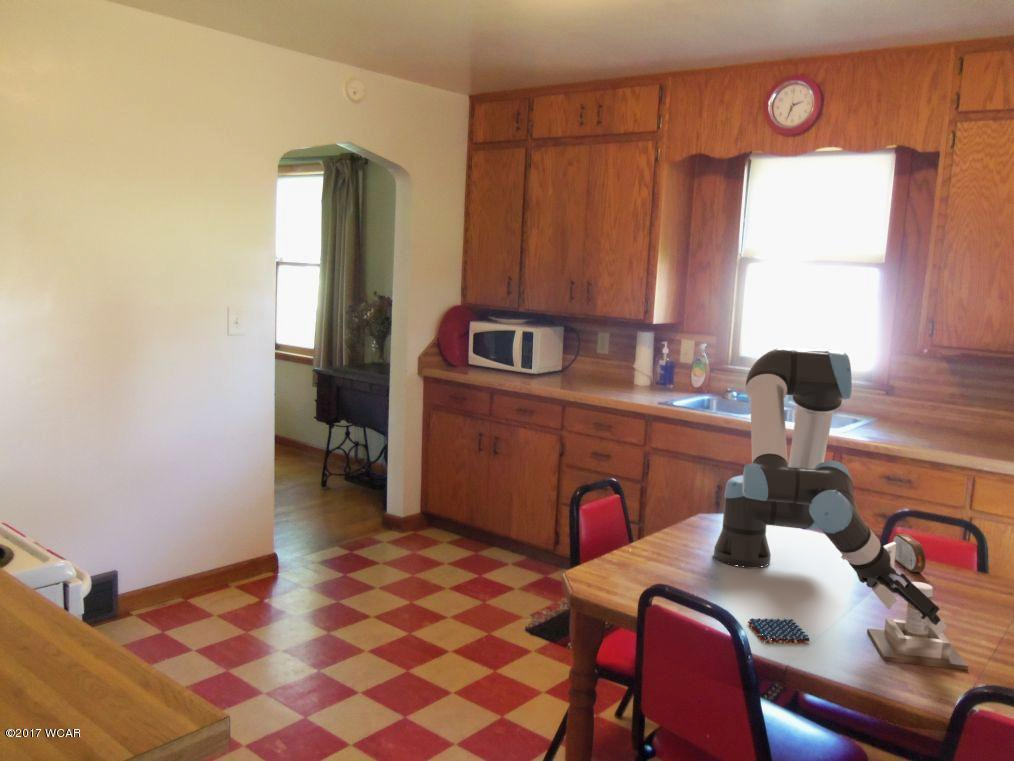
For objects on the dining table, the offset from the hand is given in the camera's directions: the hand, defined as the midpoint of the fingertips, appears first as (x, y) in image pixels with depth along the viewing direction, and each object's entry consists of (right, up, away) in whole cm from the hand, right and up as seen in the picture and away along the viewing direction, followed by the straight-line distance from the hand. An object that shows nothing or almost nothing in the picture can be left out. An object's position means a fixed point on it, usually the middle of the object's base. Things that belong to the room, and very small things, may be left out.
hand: (915, 616), depth 174 cm
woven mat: (-27, -6, +7) cm, 29 cm away
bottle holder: (0, -8, +1) cm, 8 cm away
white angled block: (+13, -3, +46) cm, 48 cm away
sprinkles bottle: (0, -7, +1) cm, 7 cm away
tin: (+24, -2, +55) cm, 60 cm away
